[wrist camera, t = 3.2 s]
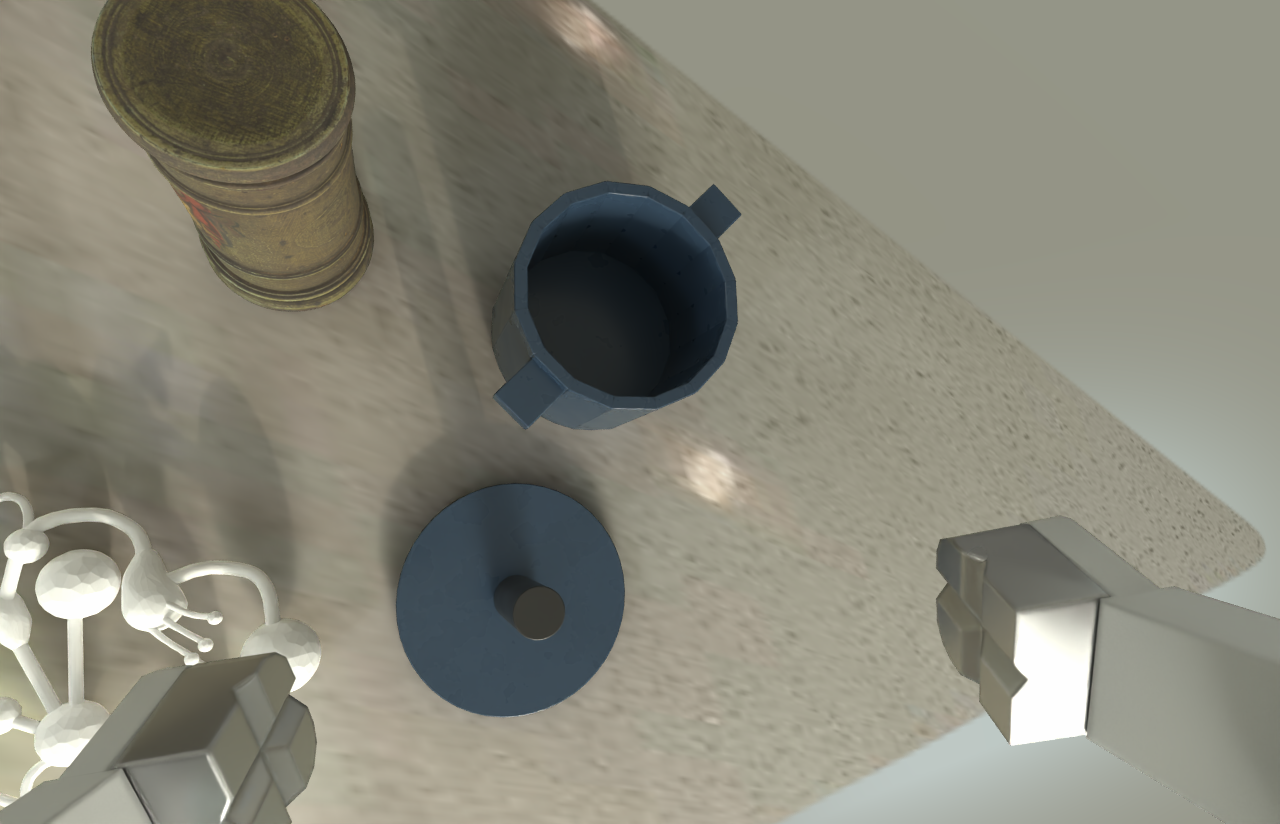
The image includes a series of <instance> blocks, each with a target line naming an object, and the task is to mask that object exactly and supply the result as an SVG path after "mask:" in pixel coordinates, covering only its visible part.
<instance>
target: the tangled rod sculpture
mask: <svg viewBox="0 0 1280 824" xmlns="http://www.w3.org/2000/svg"><path fill="white" fill-rule="evenodd" d="M3 501H14V502H16V503H17V504H19V506H20V508H21V511H22V513H23V528H22V529H19V530H17V531H15V532H13V533H12V534H10V535H9V536H8V538H7V539H6V540H5V542H4V553H5V555H6V556H7V557H8V561H7V565H6V569H5V573H4V577H3V580H2V584H1V588H0V643H1V644H2V645H4V646H6V647H7V648H9V649H11V650H13V652H14V654H15V655H16V657H17V659H18V661H19V663H20V664H21V666H22V668H23V670H24V672H25V673H26V675H27V677H28V679H29V680H30V682H31V684H32V686H33V688H34V689H35V691H36V693H37V695H38V697H39V698H40V700H41V702H42V704H43V706H44V707H45V709H46V711H47V713H48V714H47V715H46V716H45V717H44V718H43V719H42V721H38V720H35V719H32V718H28V717H25V716H22V706H21V705H20V704H19V702H18V701H17V700H15V699H13V698H10V697H0V734H3V733H5V732H8V731H9V730H11V729H12V728H15V729H19V730H22V731H25V732H29V733H32V734H35V735H34V748H35V751H36V752H37V754H38V755H39V756H40V758H41V759H42V760H41V761H39V762H38V763H36V764H35V765H34V766H33V767H32V768H31V769H30V770H28V772H27V773H26V775H25V777H24V778H23V780H22V784H21V788H20V797H22V796H23V795H25V794H26V793H28V792H29V791H31V790H32V787H33V783H34V780H35V779H36V777H37V776H38V775H39V774H40V773H41V772H42V771H43V770H44V769H45V768H47V767H49V766H60V767H69V765H70V764H71V763H72V762H73V760H74V759H75V758H76V757H77V755H78V754H79V753H80V752H81V751H82V749H83V748H84V747H85V746H86V744H87V743H88V742H89V741H90V740H91V738H92V737H93V736H94V735H95V733H96V732H97V731H98V730H99V728H100V727H101V726H102V725H103V724H104V722H105V721H106V720H107V719H108V717H109V716H110V715H109V713H108V711H107V710H106V709H105V708H104V707H103V706H102V705H100V704H99V703H98V702H94V701H89V700H84V663H83V618H84V617H88V616H91V615H94V614H97V613H98V612H100V611H101V610H103V609H104V608H106V607H107V606H109V605H110V604H111V603H112V601H113V600H114V599H115V597H116V595H117V593H118V591H119V588H120V585H121V573H120V570H119V568H118V566H117V564H116V563H115V562H114V561H113V560H112V559H111V558H110V557H109V556H107V555H105V554H103V553H101V552H99V551H95V550H90V549H78V550H72V551H68V552H66V553H64V554H62V555H60V556H58V557H55V558H53V559H52V560H51V561H50V562H49V563H48V564H46V565H45V566H44V568H43V569H42V570H41V571H40V573H39V576H38V578H37V580H36V586H35V592H36V595H37V598H38V602H39V604H40V605H41V606H42V607H43V609H44V610H46V611H47V612H49V613H50V614H52V615H54V616H56V617H60V618H64V619H67V633H68V692H69V702H67V703H64V704H62V703H61V702H60V700H59V698H58V696H57V694H56V693H55V691H54V689H53V687H52V685H51V684H50V682H49V680H48V678H47V677H46V675H45V673H44V671H43V669H42V668H41V666H40V664H39V662H38V661H37V659H36V657H35V655H34V653H33V652H32V650H31V648H30V646H29V644H28V641H29V639H30V633H31V627H32V617H31V614H30V612H29V610H28V609H27V607H26V605H25V603H24V600H23V599H22V597H21V596H20V595H19V594H18V593H17V592H16V589H17V585H18V581H19V577H20V573H21V569H22V566H23V564H25V563H32V562H35V561H37V560H39V559H40V558H42V557H43V556H44V555H45V554H46V553H47V551H48V548H49V545H50V543H49V539H48V537H47V536H46V534H45V533H43V532H44V531H46V530H49V529H51V528H54V527H56V526H59V525H61V524H69V523H77V522H103V523H106V524H109V525H112V526H114V527H116V528H118V529H119V530H121V531H123V532H124V533H126V534H127V535H128V536H129V537H130V539H131V540H132V543H133V545H134V548H135V556H134V557H133V559H132V560H131V562H130V564H129V565H128V567H127V569H126V571H125V573H124V576H123V580H122V585H121V608H122V614H123V616H124V618H125V620H126V621H127V622H128V623H129V624H130V625H131V626H132V627H134V628H136V629H138V630H142V631H148V632H150V633H151V634H152V635H153V636H154V637H156V638H157V639H158V640H160V641H161V642H163V643H165V644H166V645H168V646H169V647H171V648H172V649H174V650H175V651H177V652H179V653H180V654H182V655H183V656H185V658H184V662H185V664H186V665H195V664H198V663H204V662H205V661H204V660H201V659H199V655H198V654H197V653H195V652H190V651H189V650H187V649H186V648H184V647H182V646H181V645H179V644H177V643H176V642H174V641H173V640H171V639H170V638H168V637H167V636H166V635H164V634H163V633H162V632H161V631H160V630H163V629H166V628H168V627H170V628H171V629H173V630H175V631H177V632H179V633H181V634H182V635H184V636H186V637H188V638H190V639H192V640H193V641H195V642H197V643H198V649H199V651H202V652H207V651H210V650H211V649H212V648H213V641H212V640H211V639H209V638H203V637H201V636H199V635H197V634H195V633H193V632H191V631H189V630H187V629H186V628H184V627H182V626H181V625H179V624H177V623H176V621H177V620H178V619H179V618H180V617H181V616H182V615H184V616H187V617H191V618H195V619H207V621H208V623H210V624H212V625H215V624H218V623H220V622H221V621H222V619H223V615H222V613H221V612H219V611H213V612H211V613H198V612H195V611H192V610H188V609H187V606H188V602H187V599H186V597H185V595H184V593H183V591H182V589H181V588H180V587H179V585H178V584H179V583H182V582H184V581H187V580H189V579H192V578H195V577H199V576H204V575H208V574H224V575H233V576H238V577H243V578H247V579H249V580H250V581H252V582H253V583H254V584H255V585H256V586H257V588H258V589H259V591H260V594H261V597H262V600H263V606H264V615H265V624H263V625H261V626H259V627H258V628H257V629H256V630H255V631H254V632H253V633H252V634H251V635H250V636H249V637H248V638H247V640H246V642H245V643H244V645H243V647H242V650H241V654H240V657H245V656H251V655H258V654H265V653H271V652H277V653H279V654H281V655H283V656H285V657H286V658H287V660H288V662H289V664H290V666H291V668H292V671H293V673H294V675H295V677H296V679H295V682H294V684H293V687H292V689H291V691H290V692H292V691H294V690H296V689H299V688H300V687H302V686H303V685H304V684H305V683H306V682H307V681H308V680H309V679H310V678H311V677H312V676H313V674H314V673H315V671H316V670H317V668H318V665H319V662H320V658H321V646H320V641H319V638H318V636H317V634H316V632H315V631H314V630H313V629H312V628H311V627H310V626H309V625H307V624H305V623H303V622H301V621H299V620H296V619H288V618H281V619H280V610H279V602H278V597H277V593H276V590H275V587H274V585H273V583H272V582H271V580H270V579H269V577H268V575H267V574H266V573H265V572H263V571H262V570H261V569H259V568H258V567H256V566H253V565H250V564H246V563H241V562H234V561H227V560H212V561H203V562H198V563H194V564H190V565H187V566H185V567H182V568H179V569H177V570H174V571H171V572H167V570H166V568H165V565H164V562H163V560H162V558H161V557H160V555H159V554H158V552H157V551H156V550H153V549H152V547H151V542H150V540H149V537H148V535H147V533H146V531H145V530H144V529H143V528H142V527H141V526H140V524H138V523H137V522H135V521H134V520H132V519H130V518H129V517H127V516H125V515H124V514H121V513H119V512H116V511H114V510H111V509H104V508H95V507H94V508H71V509H66V510H61V511H56V512H51V513H49V514H46V515H43V516H41V517H38V518H37V519H35V520H34V510H33V508H32V506H31V504H30V502H29V500H28V499H27V498H25V497H24V496H23V495H21V494H18V493H13V492H5V493H1V494H0V502H3ZM165 669H168V668H165ZM17 799H19V798H18V797H15V796H11V795H8V794H5V793H1V792H0V805H1V806H4V807H7V806H8V805H10V804H11V803H13V802H14V801H16V800H17Z"/></svg>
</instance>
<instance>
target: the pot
mask: <svg viewBox="0 0 1280 824" xmlns="http://www.w3.org/2000/svg"><path fill="white" fill-rule="evenodd" d="M740 216H741V213H740V212H739V211H738V210H737V209H736V208H735V207H734V205H733V204H732V203H731V202H730V201H729V200H728V199H727V198H726V197H725V196H724V194H723V193H722V192H721V191H720V190H719V189H718V188H717V187H716V186H715V185H714V184H713V185H712V186H711V187H710V188H709V189H708V190H707V191H706V192H705V193H704V194H702V195H701V196H700V197H699V198H698V199H697V200H696V201H695V202H694V203H693V204H692V205H691V206H690V207H688V206H687V205H685V204H683V203H681V202H679V201H677V200H675V199H673V198H671V197H669V196H668V195H666V194H664V193H662V192H660V191H658V190H656V189H654V188H652V187H650V186H645V185H636V184H628V183H619V182H610V181H604V182H601V183H597V184H594V185H591V186H587V187H584V188H580V189H577V190H574V191H570V192H567V193H565V194H563V195H562V196H561V197H560V198H558V199H557V200H556V201H555V202H554V203H553V204H552V205H550V206H549V207H548V208H547V209H546V210H545V211H544V212H542V213H541V214H540V215H539V216H538V217H537V218H535V219H534V220H533V221H532V223H531V225H530V227H529V229H528V231H527V234H526V236H525V238H524V240H523V242H522V245H521V247H520V249H519V251H518V253H517V256H516V258H515V260H514V262H513V264H512V266H511V269H510V271H509V273H508V275H507V278H506V280H505V282H504V284H503V287H502V289H501V291H500V293H499V296H498V298H497V300H496V303H495V305H494V307H493V311H492V344H493V351H494V354H495V358H496V361H497V363H498V366H499V369H500V371H501V373H502V375H503V377H504V379H505V381H506V383H505V384H504V385H503V386H502V387H501V388H500V389H499V390H498V391H497V392H496V393H495V394H494V395H493V399H494V400H495V401H496V402H497V403H498V404H499V405H500V406H501V407H502V408H503V409H504V410H505V411H506V412H507V413H508V414H509V415H510V416H511V417H512V418H513V419H514V420H515V421H516V422H517V423H518V424H519V425H521V426H522V427H523V428H524V429H527V428H529V427H530V426H531V425H532V424H533V423H534V422H535V421H536V420H537V419H538V418H539V417H540V416H542V417H543V418H545V419H547V420H549V421H551V422H554V423H556V424H559V425H562V426H565V427H569V428H572V429H583V430H598V429H612V428H615V427H617V426H619V425H622V424H624V423H627V422H629V421H631V420H634V419H636V418H638V417H641V416H643V415H646V414H648V413H650V412H653V411H655V410H658V409H660V408H662V407H665V406H667V405H669V404H672V403H674V402H676V401H679V400H681V399H683V398H686V397H688V396H690V395H693V394H695V393H696V392H697V391H698V390H699V389H700V388H701V387H702V386H703V385H704V384H705V383H706V382H707V381H708V379H709V378H710V377H711V376H712V375H713V374H714V373H715V372H716V371H717V370H718V369H719V367H720V366H721V365H722V364H723V363H724V361H725V359H726V356H727V353H728V350H729V347H730V344H731V341H732V339H733V336H734V333H735V330H736V327H737V324H738V323H737V322H738V316H737V296H736V280H735V277H734V274H733V272H732V269H731V267H730V265H729V262H728V260H727V258H726V255H725V253H724V251H723V248H722V246H721V244H720V241H719V240H718V238H719V237H720V236H721V235H722V234H723V233H724V232H725V231H726V230H727V229H728V228H729V227H730V226H731V225H732V224H733V223H734V222H735V221H736V220H737V219H738V218H739V217H740Z"/></svg>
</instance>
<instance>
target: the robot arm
mask: <svg viewBox="0 0 1280 824" xmlns="http://www.w3.org/2000/svg"><path fill="white" fill-rule="evenodd" d="M936 569H937V570H938V571H939V572H940V574H941V575H942V576H943V577H944V579H945V580H946V581H947V584H946V586H945V587H944V588H943V590H942V591H941V593H940V594H939V595H938V597H937V598H936V604H937V623H938V627H939V631H940V634H941V638H942V642H943V645H944V647H945V649H946V651H947V654H948V656H949V658H950V660H951V661H952V663H953V664H954V666H955V667H956V669H957V670H958V672H959V673H960V675H962V676H964V677H966V678H968V679H970V680H972V681H974V682H976V683H978V684H980V693H979V702H980V703H981V705H982V706H983V708H984V709H985V711H986V712H987V713H988V715H989V716H990V718H991V719H992V720H993V722H994V723H995V725H996V726H997V727H998V729H999V730H1000V732H1001V733H1002V735H1003V736H1004V737H1005V739H1006V740H1007V742H1008V743H1009V744H1010V746H1011V745H1018V744H1025V743H1032V742H1038V741H1045V740H1051V739H1059V738H1066V737H1072V736H1080V735H1087V736H1086V738H1087V739H1088V740H1090V741H1091V742H1093V743H1095V744H1096V745H1098V746H1100V747H1101V748H1103V749H1104V750H1106V751H1108V752H1109V753H1111V754H1113V755H1114V756H1116V757H1118V758H1119V759H1121V760H1122V761H1124V762H1126V763H1127V764H1129V765H1131V766H1132V767H1134V768H1135V769H1137V770H1139V771H1140V772H1142V773H1144V774H1145V775H1147V776H1149V777H1150V778H1152V779H1153V780H1155V781H1157V782H1158V783H1160V784H1162V785H1163V786H1165V787H1166V788H1168V789H1170V790H1171V791H1173V792H1175V793H1176V794H1178V795H1179V796H1181V797H1183V798H1184V799H1186V800H1188V801H1189V802H1191V803H1193V804H1194V805H1196V806H1197V807H1199V808H1201V809H1202V810H1204V811H1206V812H1207V813H1209V814H1211V815H1212V816H1214V817H1215V818H1217V819H1219V820H1220V821H1222V822H1224V823H1225V824H1280V619H1278V618H1275V617H1271V616H1268V615H1265V614H1262V613H1258V612H1255V611H1252V610H1249V609H1246V608H1243V607H1239V606H1236V605H1233V604H1230V603H1226V602H1223V601H1220V600H1217V599H1214V598H1210V597H1207V596H1204V595H1201V594H1197V593H1194V592H1191V591H1188V590H1185V589H1181V588H1178V587H1175V586H1173V587H1167V588H1159V587H1158V586H1157V585H1156V584H1154V583H1153V582H1152V581H1150V580H1149V579H1148V578H1147V577H1145V576H1144V575H1143V574H1142V573H1140V572H1139V571H1138V570H1136V569H1135V568H1134V567H1133V566H1131V565H1130V564H1129V563H1128V562H1126V561H1125V560H1124V559H1122V558H1121V557H1120V556H1119V555H1117V554H1116V553H1115V552H1114V551H1112V550H1111V549H1110V548H1108V547H1107V546H1106V545H1105V544H1103V543H1102V542H1101V541H1100V540H1098V539H1097V538H1096V537H1094V536H1093V535H1092V534H1091V533H1089V532H1088V531H1087V530H1086V529H1084V528H1083V527H1082V526H1080V525H1079V524H1078V523H1077V522H1075V521H1074V520H1073V519H1071V518H1068V517H1064V516H1055V517H1050V518H1045V519H1040V520H1035V521H1030V522H1026V523H1021V524H1020V525H1015V526H1010V527H1004V528H999V529H994V530H988V531H983V532H977V533H972V534H966V535H961V536H956V537H950V538H945V539H940V542H939V545H938V548H937V558H936ZM295 679H296V677H295V675H294V673H293V671H292V668H291V666H290V664H289V662H288V660H287V658H286V657H285V656H283V655H281V654H279V653H277V652H271V653H265V654H258V655H251V656H245V657H238V658H231V659H224V660H218V661H211V662H204V663H198V664H195V665H185V666H179V667H173V668H168V669H162V670H156V671H153V672H151V673H149V674H147V675H144V676H142V677H141V678H140V679H139V681H138V682H137V683H136V684H135V685H134V687H133V688H132V689H131V690H130V692H129V693H128V694H127V695H126V697H125V698H124V699H123V700H122V701H121V703H120V704H119V705H118V706H117V708H116V709H115V710H114V711H113V713H112V714H111V715H110V716H109V717H108V719H107V720H106V721H105V722H104V724H103V725H102V726H101V727H100V728H99V730H98V731H97V732H96V733H95V735H94V736H93V737H92V738H91V740H90V741H89V742H88V743H87V744H86V746H85V747H84V748H83V749H82V751H81V752H80V753H79V754H78V755H77V757H76V758H75V759H74V760H73V762H72V763H71V764H70V765H69V767H68V768H67V769H66V770H65V771H64V773H63V774H62V775H61V776H60V778H59V779H56V780H50V781H45V782H43V783H41V784H40V785H38V786H37V787H35V788H34V789H32V790H31V791H29V792H28V793H26V794H25V795H23V796H22V797H20V798H19V799H17V800H16V801H14V802H13V803H11V804H10V805H8V806H7V807H5V808H4V809H2V810H1V811H0V824H291V823H292V821H291V819H290V816H289V814H288V812H287V809H286V807H287V806H288V805H289V804H290V803H291V802H292V801H293V800H294V799H295V798H296V797H297V796H298V795H299V794H300V793H301V792H303V791H304V790H305V789H306V787H307V784H308V782H309V779H310V776H311V774H312V771H313V769H314V763H315V754H316V745H317V740H316V733H315V727H314V722H313V719H312V717H311V714H310V712H309V709H308V707H307V706H306V705H304V704H303V703H301V702H300V701H298V700H297V699H295V698H294V697H292V696H291V695H289V694H290V691H291V689H292V687H293V684H294V682H295Z"/></svg>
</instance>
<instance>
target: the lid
mask: <svg viewBox="0 0 1280 824" xmlns="http://www.w3.org/2000/svg"><path fill="white" fill-rule="evenodd" d="M624 597H625V588H624V577H623V572H622V567H621V562H620V559H619V557H618V554H617V551H616V548H615V546H614V544H613V542H612V540H611V538H610V536H609V535H608V533H607V532H606V530H605V529H604V527H603V526H602V524H601V523H600V522H599V521H598V520H597V519H596V518H595V516H594V515H593V514H592V513H591V512H589V511H588V510H587V509H586V508H585V507H584V506H583V505H581V504H580V503H578V502H577V501H575V500H574V499H572V498H571V497H569V496H567V495H565V494H562V493H560V492H558V491H556V490H553V489H550V488H546V487H543V486H538V485H532V484H519V483H513V484H501V485H496V486H491V487H487V488H483V489H481V490H478V491H475V492H472V493H470V494H468V495H466V496H464V497H462V498H460V499H458V500H456V501H455V502H453V503H452V504H450V505H449V506H447V507H446V508H444V509H443V510H442V511H441V512H440V513H439V514H438V515H436V516H435V517H434V518H433V519H432V520H431V521H430V522H429V524H428V525H427V526H426V527H425V528H424V529H423V530H422V532H421V533H420V535H419V536H418V538H417V539H416V541H415V542H414V543H413V545H412V547H411V549H410V551H409V553H408V555H407V557H406V560H405V562H404V565H403V568H402V571H401V574H400V578H399V583H398V588H397V598H396V615H397V625H398V630H399V635H400V639H401V642H402V645H403V648H404V651H405V653H406V655H407V657H408V659H409V661H410V663H411V665H412V667H413V668H414V669H415V671H416V672H417V674H418V675H419V676H420V678H421V679H422V680H423V681H424V682H425V683H426V684H427V685H428V686H429V688H430V689H431V690H433V691H434V692H435V693H436V694H438V695H439V696H440V697H441V698H443V699H444V700H446V701H448V702H449V703H451V704H453V705H455V706H456V707H459V708H461V709H464V710H466V711H469V712H471V713H476V714H480V715H484V716H492V717H517V716H523V715H528V714H533V713H536V712H539V711H542V710H545V709H548V708H550V707H552V706H554V705H556V704H558V703H560V702H562V701H563V700H565V699H567V698H568V697H570V696H571V695H573V694H574V693H575V692H577V691H578V690H579V689H580V688H581V687H583V686H584V685H585V684H586V683H587V682H588V681H589V680H590V679H591V678H592V677H593V675H594V674H595V673H596V672H597V671H598V669H599V668H600V667H601V665H602V664H603V662H604V661H605V659H606V658H607V656H608V654H609V652H610V651H611V649H612V647H613V644H614V642H615V640H616V637H617V635H618V632H619V628H620V625H621V621H622V616H623V610H624Z"/></svg>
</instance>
